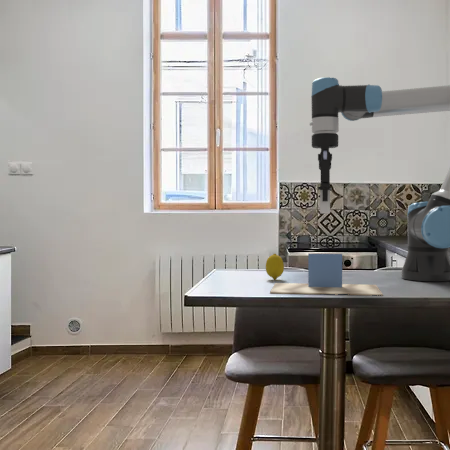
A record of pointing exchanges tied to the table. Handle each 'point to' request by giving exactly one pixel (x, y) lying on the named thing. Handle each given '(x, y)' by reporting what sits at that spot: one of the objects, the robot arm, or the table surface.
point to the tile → (324, 270)
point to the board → (325, 289)
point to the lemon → (274, 266)
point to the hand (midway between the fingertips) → (324, 213)
